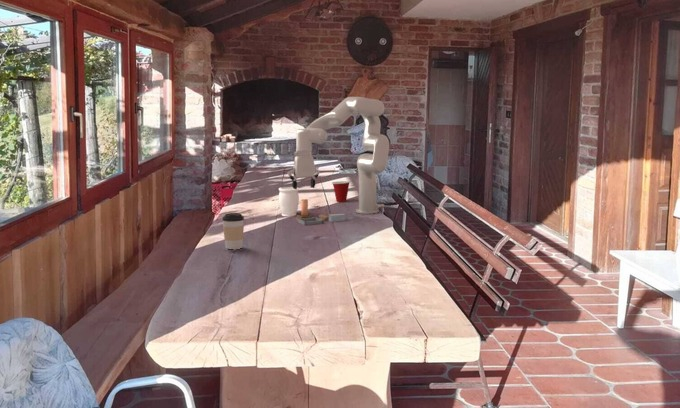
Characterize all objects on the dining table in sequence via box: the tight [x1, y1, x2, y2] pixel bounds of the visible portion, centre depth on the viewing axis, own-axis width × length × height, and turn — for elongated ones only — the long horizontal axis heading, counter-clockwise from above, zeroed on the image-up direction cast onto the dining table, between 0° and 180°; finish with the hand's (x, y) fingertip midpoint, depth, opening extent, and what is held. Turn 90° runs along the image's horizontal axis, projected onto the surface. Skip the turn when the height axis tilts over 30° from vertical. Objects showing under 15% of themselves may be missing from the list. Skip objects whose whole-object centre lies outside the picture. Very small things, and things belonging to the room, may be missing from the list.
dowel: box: [300, 198, 309, 217], centre depth 341 cm, size 3×3×10 cm
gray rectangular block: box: [328, 213, 347, 223], centre depth 338 cm, size 8×3×4 cm, turn 117°
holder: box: [295, 213, 313, 221], centre depth 342 cm, size 8×8×3 cm
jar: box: [278, 186, 300, 217], centre depth 353 cm, size 11×10×15 cm
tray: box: [296, 216, 325, 226], centre depth 333 cm, size 10×9×2 cm
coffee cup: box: [222, 212, 245, 250], centre depth 284 cm, size 9×9×15 cm
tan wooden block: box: [318, 213, 333, 222], centre depth 343 cm, size 8×8×3 cm
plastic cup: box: [331, 180, 351, 203], centre depth 398 cm, size 11×11×12 cm
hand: (303, 188), depth 339 cm, fingers open, 9 cm apart
